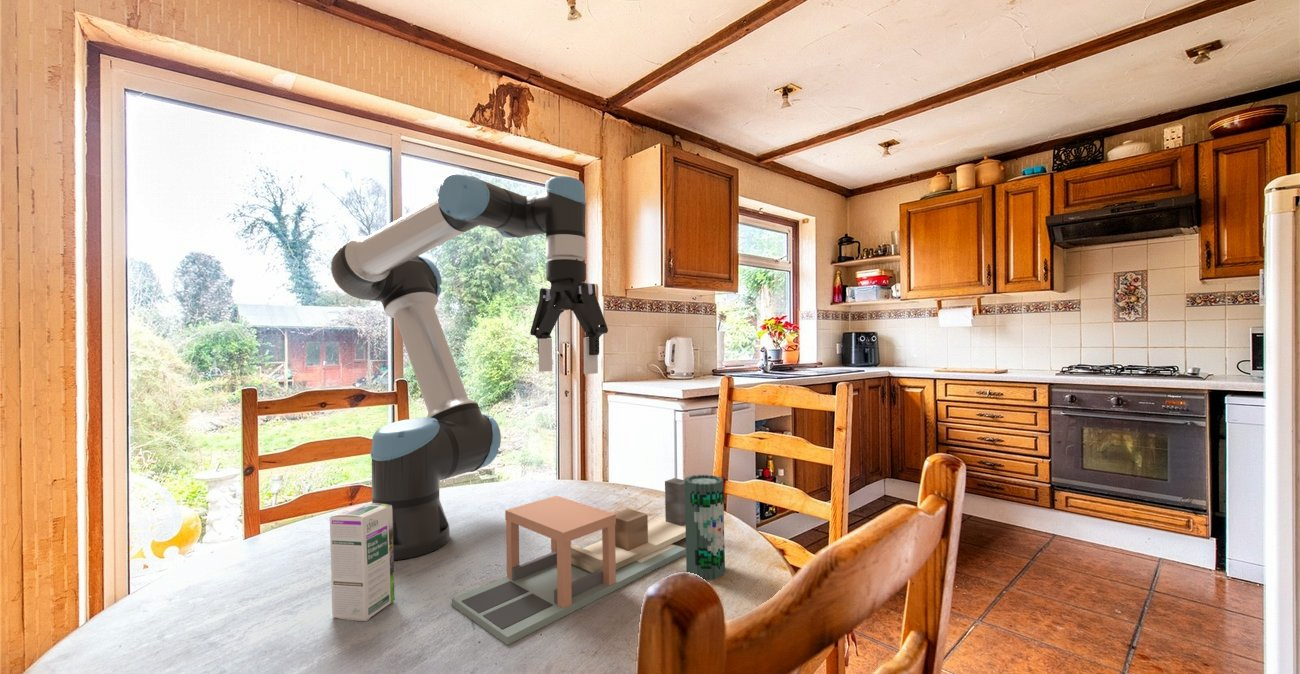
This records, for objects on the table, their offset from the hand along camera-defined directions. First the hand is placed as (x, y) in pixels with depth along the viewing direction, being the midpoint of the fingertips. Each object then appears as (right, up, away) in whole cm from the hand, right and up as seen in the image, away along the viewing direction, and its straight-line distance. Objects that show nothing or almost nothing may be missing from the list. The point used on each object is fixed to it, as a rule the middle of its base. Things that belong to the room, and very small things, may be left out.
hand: (567, 372), depth 96 cm
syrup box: (-26, -33, -23) cm, 48 cm away
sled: (+14, -31, -4) cm, 34 cm away
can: (+25, -32, -12) cm, 42 cm away
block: (+12, -30, -6) cm, 33 cm away
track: (+4, -32, -14) cm, 35 cm away
